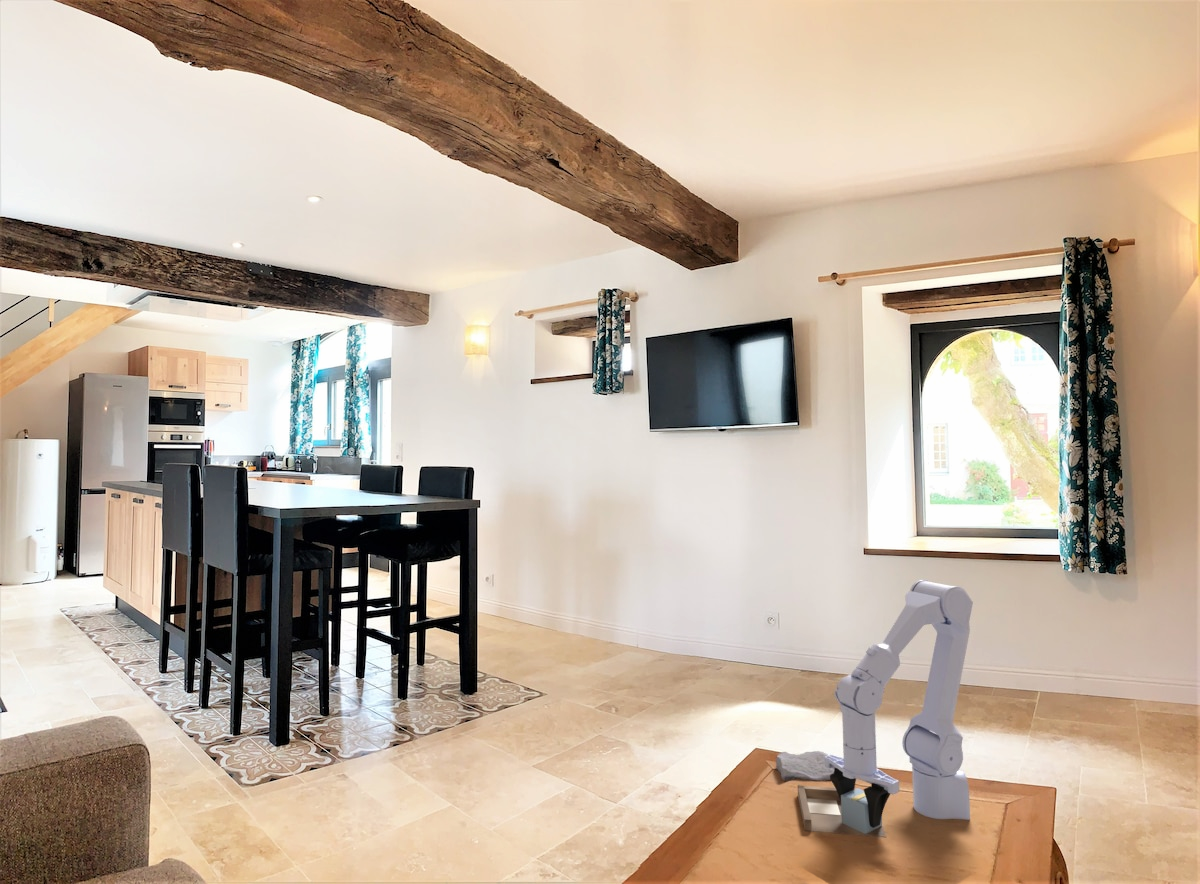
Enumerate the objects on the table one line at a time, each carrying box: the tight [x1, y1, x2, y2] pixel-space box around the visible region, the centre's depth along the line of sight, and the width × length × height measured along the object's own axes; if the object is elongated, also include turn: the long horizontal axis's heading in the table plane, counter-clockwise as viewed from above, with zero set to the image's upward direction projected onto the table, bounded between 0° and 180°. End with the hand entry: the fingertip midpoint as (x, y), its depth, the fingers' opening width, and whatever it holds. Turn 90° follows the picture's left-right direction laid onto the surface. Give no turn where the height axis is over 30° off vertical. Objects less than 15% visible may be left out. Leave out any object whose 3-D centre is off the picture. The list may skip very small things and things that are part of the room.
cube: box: [841, 787, 883, 834], centre depth 130 cm, size 5×5×5 cm
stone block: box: [775, 750, 834, 782], centre depth 153 cm, size 12×5×10 cm
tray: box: [797, 785, 887, 838], centre depth 133 cm, size 14×14×3 cm
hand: (861, 819), depth 129 cm, fingers closed on cube, 5 cm apart
